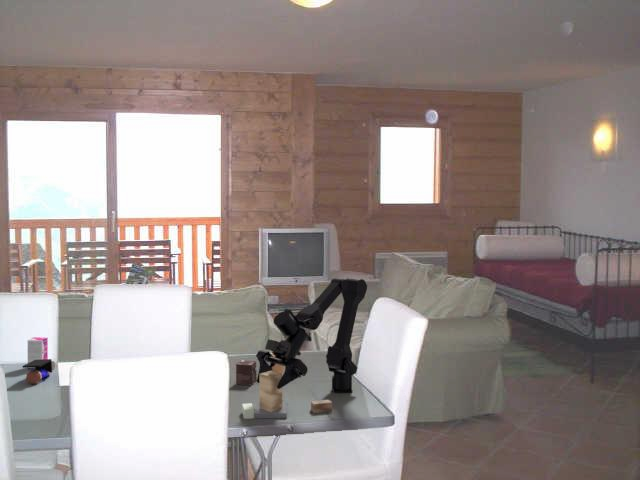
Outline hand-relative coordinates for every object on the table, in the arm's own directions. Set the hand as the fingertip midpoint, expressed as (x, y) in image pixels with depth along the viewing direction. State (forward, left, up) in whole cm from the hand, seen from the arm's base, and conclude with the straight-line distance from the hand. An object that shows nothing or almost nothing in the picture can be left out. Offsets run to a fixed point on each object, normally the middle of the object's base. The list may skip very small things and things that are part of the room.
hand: (267, 385), depth 217 cm
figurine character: (+85, -40, -9) cm, 94 cm away
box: (+9, -35, -9) cm, 37 cm away
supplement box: (+91, -57, -9) cm, 108 cm away
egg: (-1, -41, -9) cm, 42 cm away
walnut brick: (-17, -3, -9) cm, 19 cm away
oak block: (-1, -1, -8) cm, 8 cm away
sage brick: (+6, +1, -9) cm, 11 cm away
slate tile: (-1, -1, -9) cm, 9 cm away
